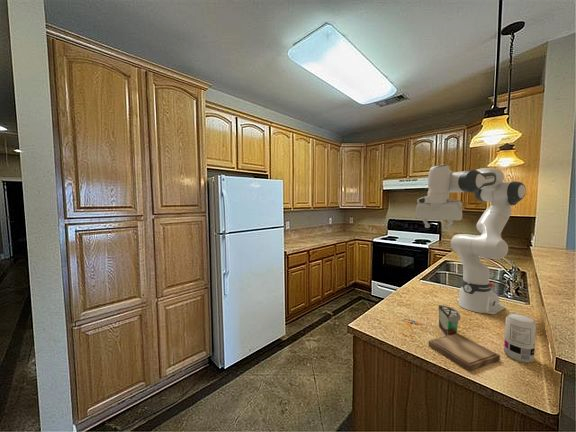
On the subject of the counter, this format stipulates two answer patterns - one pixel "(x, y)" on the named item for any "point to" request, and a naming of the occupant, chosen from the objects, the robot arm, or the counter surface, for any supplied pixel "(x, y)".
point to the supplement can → (520, 337)
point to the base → (464, 351)
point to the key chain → (415, 323)
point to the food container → (448, 320)
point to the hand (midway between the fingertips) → (437, 228)
